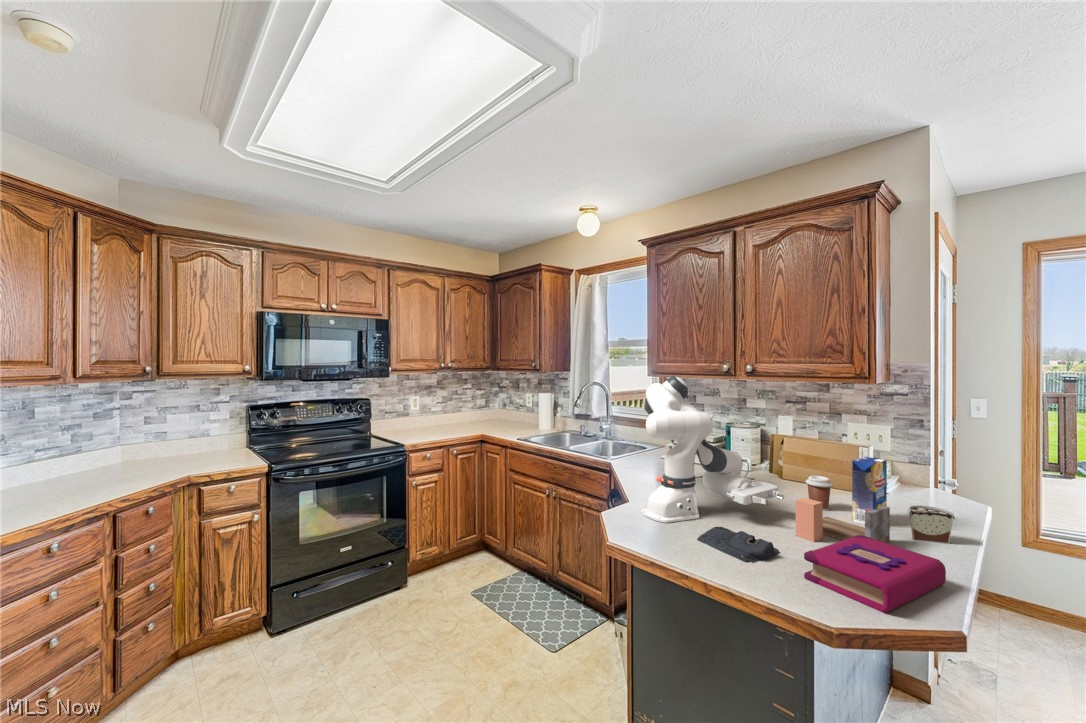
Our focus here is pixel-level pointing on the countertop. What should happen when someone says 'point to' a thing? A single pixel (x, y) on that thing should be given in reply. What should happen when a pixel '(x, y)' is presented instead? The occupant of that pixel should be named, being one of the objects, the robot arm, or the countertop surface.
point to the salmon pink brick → (809, 519)
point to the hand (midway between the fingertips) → (774, 499)
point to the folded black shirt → (738, 544)
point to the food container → (930, 524)
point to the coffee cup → (819, 490)
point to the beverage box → (868, 486)
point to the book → (874, 572)
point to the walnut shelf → (874, 527)
